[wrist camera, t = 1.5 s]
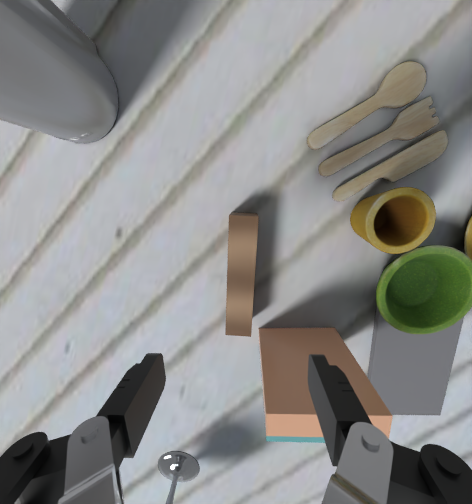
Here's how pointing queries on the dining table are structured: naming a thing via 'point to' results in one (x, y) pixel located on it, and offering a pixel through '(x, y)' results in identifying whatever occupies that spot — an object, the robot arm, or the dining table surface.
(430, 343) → the rubber mat
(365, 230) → the tableware set
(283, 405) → the terracotta tile
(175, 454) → the wine glass
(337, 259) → the dining table surface
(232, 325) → the walnut stick
